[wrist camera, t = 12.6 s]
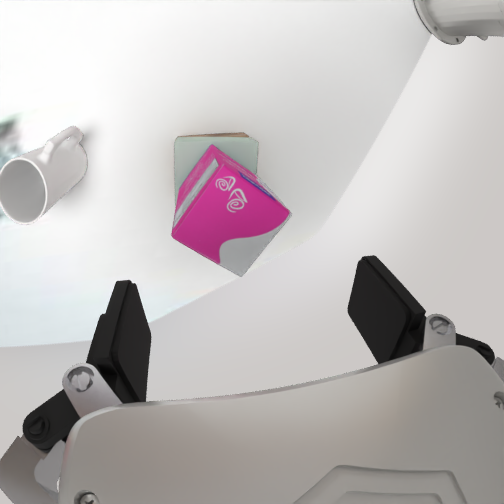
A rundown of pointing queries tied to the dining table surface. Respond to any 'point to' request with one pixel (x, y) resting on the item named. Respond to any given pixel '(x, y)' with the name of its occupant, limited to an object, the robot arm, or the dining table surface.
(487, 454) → the robot arm
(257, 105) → the dining table surface
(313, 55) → the dining table surface
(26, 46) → the dining table surface
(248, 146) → the sage top block
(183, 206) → the supplement box
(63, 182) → the mug
